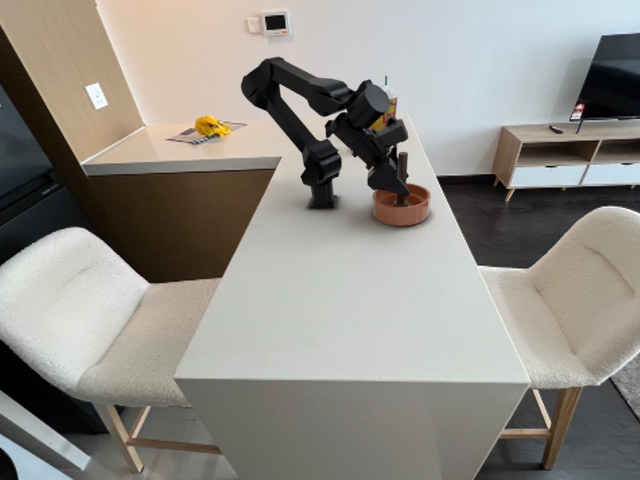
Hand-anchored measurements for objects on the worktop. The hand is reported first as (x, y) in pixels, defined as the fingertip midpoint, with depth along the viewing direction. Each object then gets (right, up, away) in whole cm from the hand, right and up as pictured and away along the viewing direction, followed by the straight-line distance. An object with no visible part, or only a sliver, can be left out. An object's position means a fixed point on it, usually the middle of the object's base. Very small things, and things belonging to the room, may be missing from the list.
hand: (408, 185), depth 77 cm
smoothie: (+2, +33, +52) cm, 62 cm away
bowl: (-1, -6, +5) cm, 7 cm away
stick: (-1, -5, +4) cm, 7 cm away
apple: (-6, +24, +42) cm, 48 cm away
